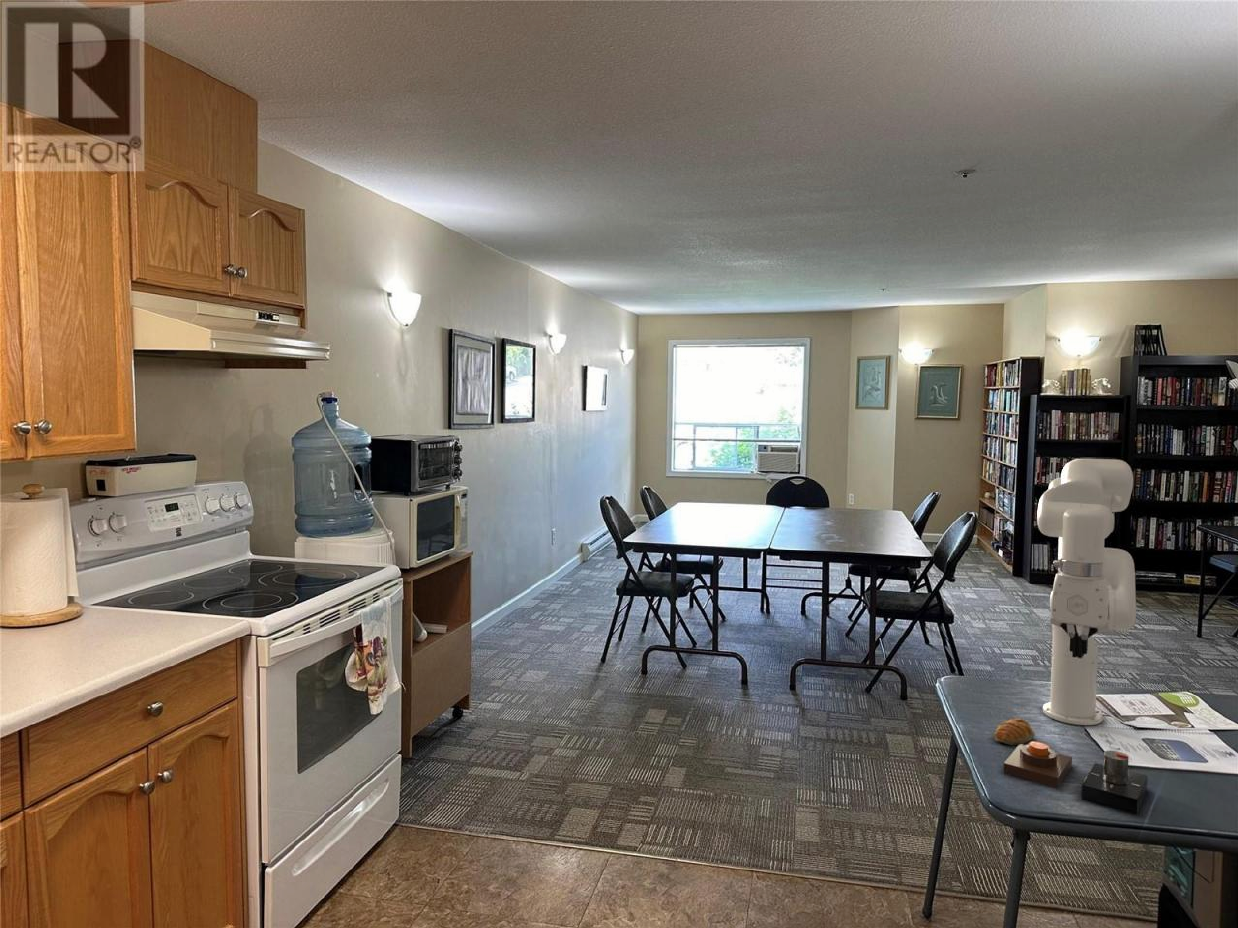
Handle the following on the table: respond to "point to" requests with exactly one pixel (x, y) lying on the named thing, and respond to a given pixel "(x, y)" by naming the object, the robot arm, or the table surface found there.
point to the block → (1038, 766)
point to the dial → (1115, 767)
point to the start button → (1038, 748)
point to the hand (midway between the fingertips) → (1078, 655)
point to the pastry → (1014, 732)
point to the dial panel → (1114, 790)
